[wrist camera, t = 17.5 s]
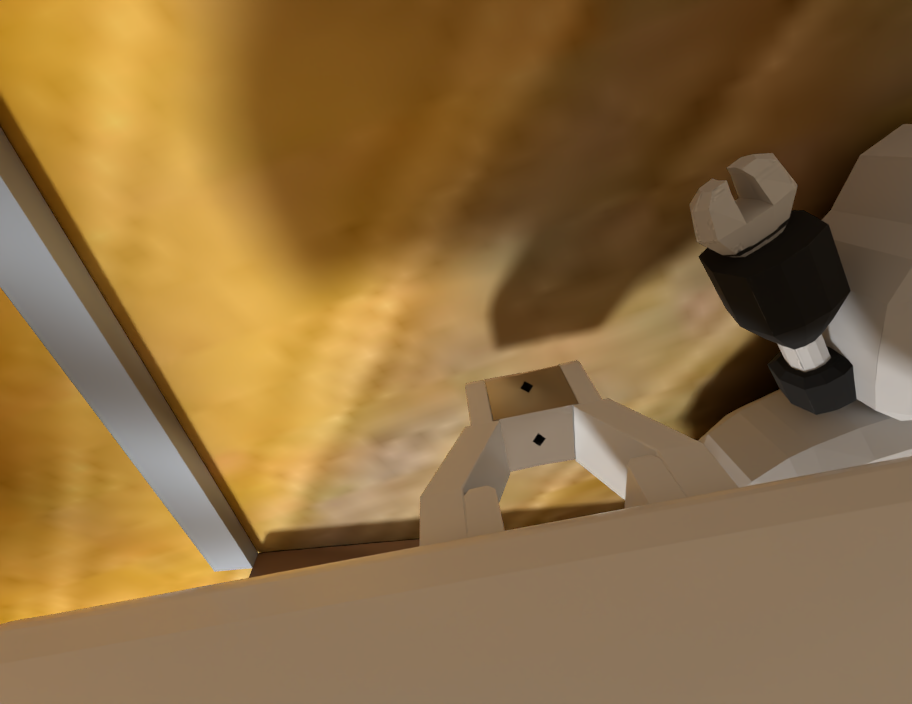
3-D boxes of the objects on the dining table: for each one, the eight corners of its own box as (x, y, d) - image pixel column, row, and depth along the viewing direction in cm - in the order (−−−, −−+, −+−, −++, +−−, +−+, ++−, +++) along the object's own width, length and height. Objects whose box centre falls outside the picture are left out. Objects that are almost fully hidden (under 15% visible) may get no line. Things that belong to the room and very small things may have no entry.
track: (847, 520, 17) (880, 553, 16) (234, 575, 17) (219, 613, 15) (1549, -290, 6) (1848, -393, 5) (-336, -232, 5) (-581, -339, 4)
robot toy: (608, 160, 10) (632, 531, 17) (730, 178, 6) (694, 654, 13) (1166, -4, 8) (935, 468, 16) (1809, -129, 4) (1104, 580, 12)
